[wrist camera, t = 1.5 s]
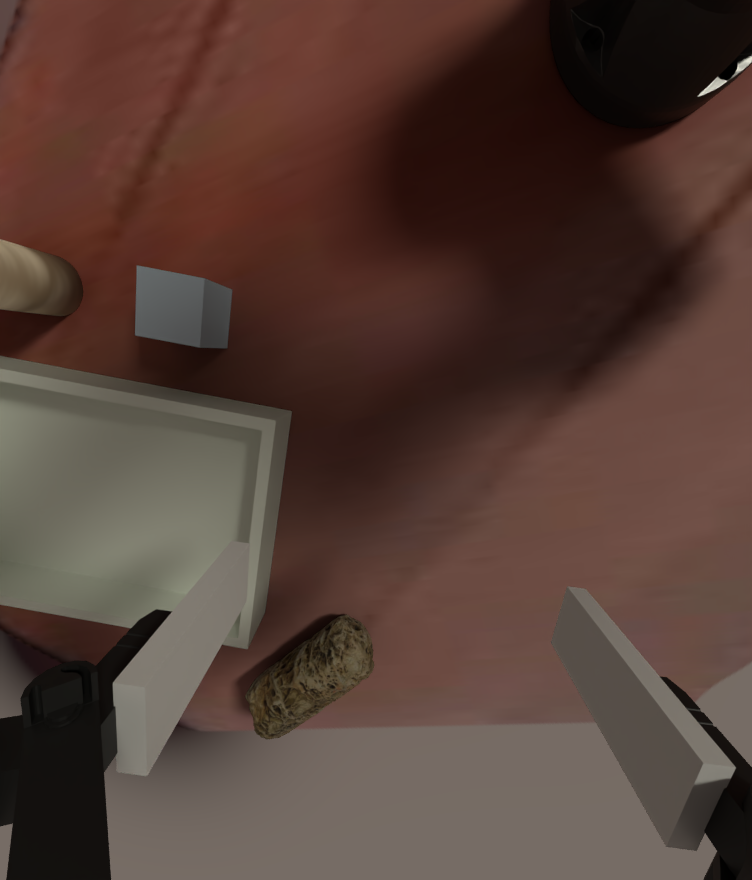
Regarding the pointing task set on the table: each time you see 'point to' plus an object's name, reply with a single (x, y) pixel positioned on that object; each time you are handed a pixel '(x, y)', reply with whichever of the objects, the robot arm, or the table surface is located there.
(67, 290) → the beech cylinder
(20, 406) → the tote
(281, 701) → the coral
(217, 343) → the slate cube
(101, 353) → the table surface
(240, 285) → the table surface
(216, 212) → the table surface
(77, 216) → the table surface
